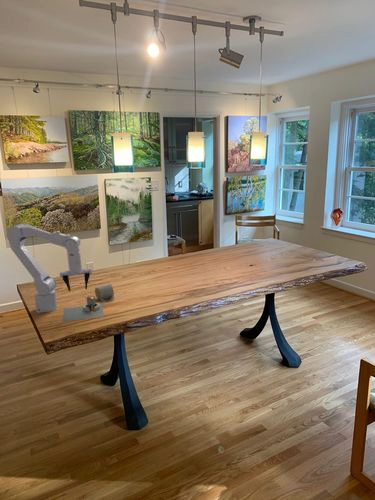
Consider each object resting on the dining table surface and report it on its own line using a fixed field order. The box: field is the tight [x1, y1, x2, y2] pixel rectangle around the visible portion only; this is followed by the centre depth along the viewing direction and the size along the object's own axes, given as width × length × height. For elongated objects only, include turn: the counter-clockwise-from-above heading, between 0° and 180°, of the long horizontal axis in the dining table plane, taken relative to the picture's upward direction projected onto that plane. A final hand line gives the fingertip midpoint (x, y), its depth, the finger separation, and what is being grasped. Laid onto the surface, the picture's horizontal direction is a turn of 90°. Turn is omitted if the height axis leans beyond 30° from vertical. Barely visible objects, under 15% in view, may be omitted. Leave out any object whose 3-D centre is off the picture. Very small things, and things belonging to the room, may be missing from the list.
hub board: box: [62, 302, 104, 323], centre depth 178 cm, size 18×16×2 cm
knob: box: [86, 295, 97, 311], centre depth 182 cm, size 5×4×6 cm
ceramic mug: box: [94, 283, 115, 303], centre depth 195 cm, size 11×8×8 cm
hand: (77, 289), depth 181 cm, fingers open, 7 cm apart
